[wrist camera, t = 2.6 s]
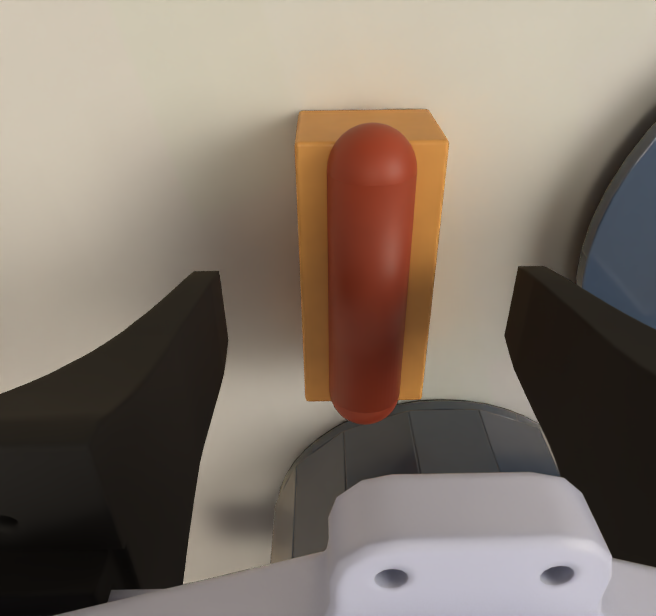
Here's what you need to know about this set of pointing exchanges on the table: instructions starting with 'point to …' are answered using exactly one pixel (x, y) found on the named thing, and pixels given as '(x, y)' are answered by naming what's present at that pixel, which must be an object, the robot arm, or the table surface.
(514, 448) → the pot
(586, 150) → the table surface
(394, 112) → the hot dog
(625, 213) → the pot lid
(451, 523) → the robot arm
